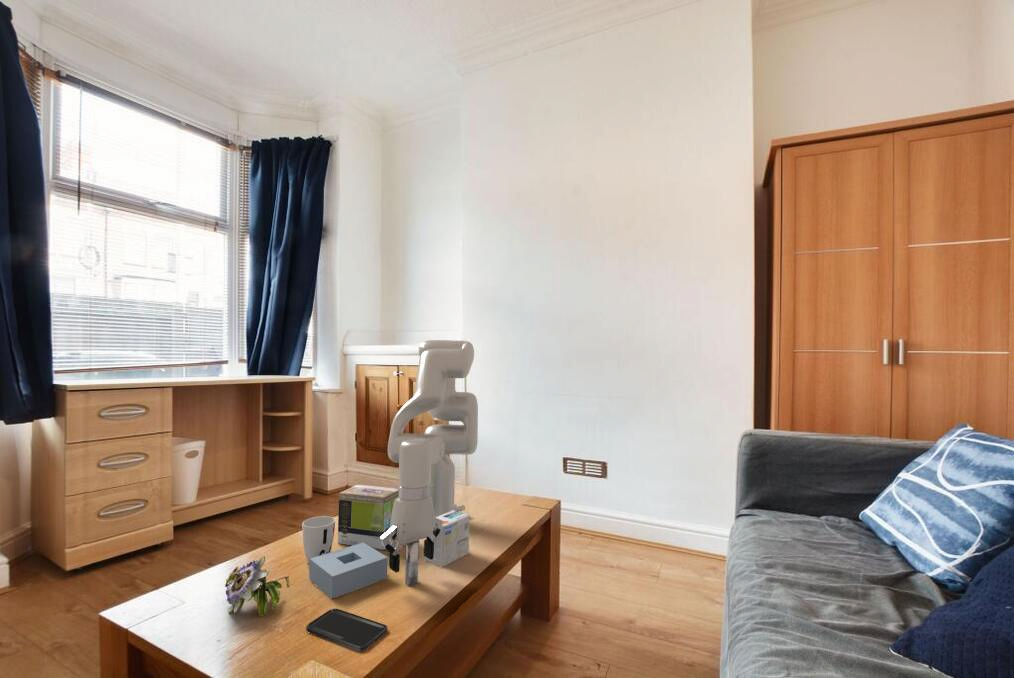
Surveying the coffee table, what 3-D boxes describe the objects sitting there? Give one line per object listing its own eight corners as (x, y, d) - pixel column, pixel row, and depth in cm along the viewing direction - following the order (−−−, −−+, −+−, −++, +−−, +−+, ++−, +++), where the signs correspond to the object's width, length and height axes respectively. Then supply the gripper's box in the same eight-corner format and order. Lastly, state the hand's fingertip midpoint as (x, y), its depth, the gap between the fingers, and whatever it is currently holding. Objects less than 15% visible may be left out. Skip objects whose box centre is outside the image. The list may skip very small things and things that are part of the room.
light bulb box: (451, 547, 130) (452, 509, 131) (469, 553, 127) (470, 514, 127) (424, 560, 122) (425, 519, 122) (443, 568, 118) (444, 525, 118)
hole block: (362, 561, 120) (363, 542, 120) (387, 578, 112) (387, 557, 112) (309, 579, 110) (309, 558, 110) (331, 599, 102) (332, 576, 102)
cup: (322, 568, 116) (323, 528, 116) (294, 564, 118) (295, 525, 118) (340, 554, 124) (341, 517, 124) (313, 551, 126) (314, 514, 126)
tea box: (400, 537, 136) (402, 487, 137) (382, 551, 127) (384, 497, 127) (356, 531, 141) (358, 482, 141) (336, 544, 131) (337, 491, 131)
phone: (333, 607, 97) (389, 626, 91) (333, 612, 97) (389, 632, 91) (303, 627, 90) (361, 649, 84) (302, 633, 90) (361, 655, 84)
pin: (413, 578, 112) (414, 537, 112) (420, 582, 110) (421, 540, 110) (402, 582, 110) (403, 540, 110) (409, 587, 108) (411, 544, 108)
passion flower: (232, 638, 96) (210, 584, 99) (282, 605, 105) (260, 557, 108) (250, 625, 90) (225, 569, 93) (301, 592, 99) (277, 542, 102)
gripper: (433, 482, 119) (431, 548, 119) (373, 495, 107) (371, 570, 106) (451, 488, 114) (450, 558, 114) (391, 503, 102) (388, 581, 101)
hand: (411, 563), depth 110 cm, fingers open, 9 cm apart
